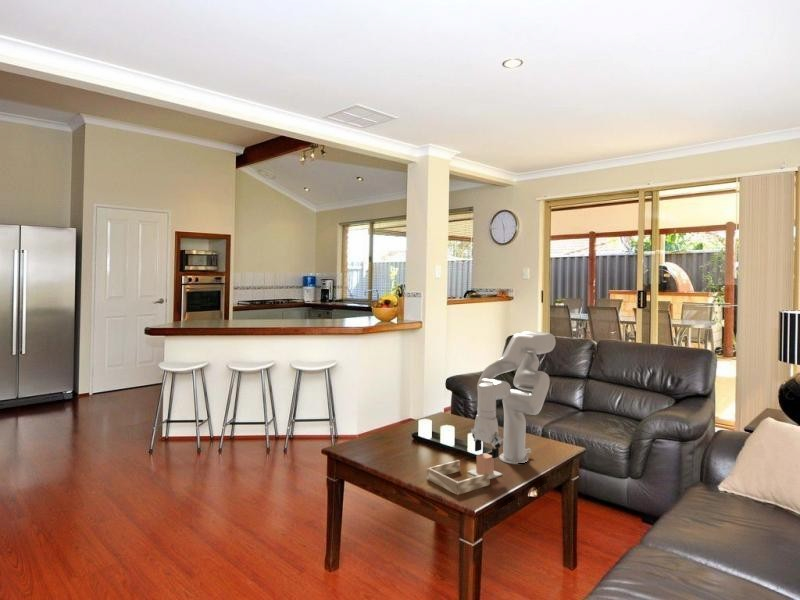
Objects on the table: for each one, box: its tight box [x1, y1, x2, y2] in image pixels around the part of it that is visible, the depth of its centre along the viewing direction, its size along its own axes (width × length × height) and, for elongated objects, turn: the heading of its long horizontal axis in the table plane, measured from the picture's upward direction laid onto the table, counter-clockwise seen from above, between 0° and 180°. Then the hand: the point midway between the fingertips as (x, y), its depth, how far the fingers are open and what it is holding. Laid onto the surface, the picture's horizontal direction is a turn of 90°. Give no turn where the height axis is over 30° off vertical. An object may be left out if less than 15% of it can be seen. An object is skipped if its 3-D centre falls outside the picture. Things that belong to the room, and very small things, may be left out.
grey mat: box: [467, 468, 503, 480], centre depth 215 cm, size 10×10×1 cm
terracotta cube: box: [475, 452, 495, 474], centre depth 215 cm, size 5×5×7 cm
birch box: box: [426, 459, 491, 496], centre depth 206 cm, size 17×18×4 cm
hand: (486, 453), depth 215 cm, fingers open, 9 cm apart
